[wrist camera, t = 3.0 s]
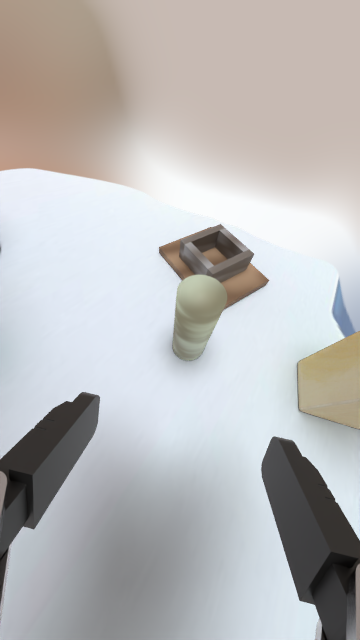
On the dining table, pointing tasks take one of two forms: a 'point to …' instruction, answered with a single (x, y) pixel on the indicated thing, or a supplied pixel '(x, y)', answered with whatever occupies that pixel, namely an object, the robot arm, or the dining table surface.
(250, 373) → the dining table surface
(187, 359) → the pale green cylinder
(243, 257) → the jig
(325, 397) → the toy refrigerator
